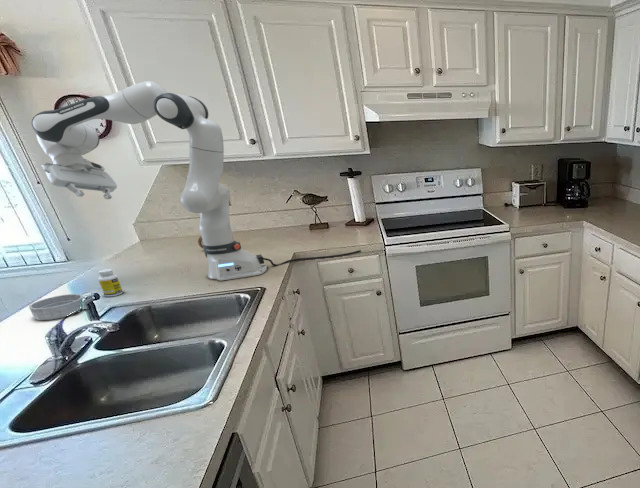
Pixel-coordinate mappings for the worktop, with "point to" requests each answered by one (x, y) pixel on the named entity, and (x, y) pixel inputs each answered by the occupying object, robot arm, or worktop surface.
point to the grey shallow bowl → (55, 307)
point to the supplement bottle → (109, 283)
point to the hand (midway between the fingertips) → (95, 196)
